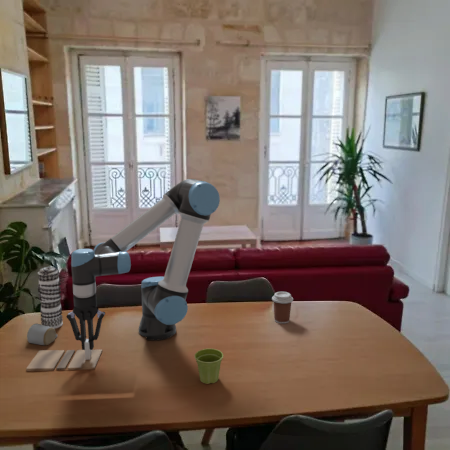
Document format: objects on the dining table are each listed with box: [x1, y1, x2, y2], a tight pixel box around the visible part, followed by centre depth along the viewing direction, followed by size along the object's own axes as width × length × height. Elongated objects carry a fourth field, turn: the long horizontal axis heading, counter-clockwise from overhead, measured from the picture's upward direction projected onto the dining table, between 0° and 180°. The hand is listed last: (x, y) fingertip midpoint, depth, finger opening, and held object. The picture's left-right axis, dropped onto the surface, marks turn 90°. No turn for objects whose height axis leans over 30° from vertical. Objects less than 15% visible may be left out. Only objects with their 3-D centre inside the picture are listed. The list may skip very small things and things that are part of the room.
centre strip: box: [55, 349, 76, 371], centre depth 158 cm, size 3×13×2 cm, turn 4°
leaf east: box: [25, 349, 66, 372], centre depth 158 cm, size 9×13×1 cm
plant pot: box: [194, 348, 224, 385], centre depth 148 cm, size 9×9×9 cm
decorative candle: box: [37, 266, 64, 330], centre depth 188 cm, size 9×9×25 cm
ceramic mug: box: [26, 323, 58, 346], centre depth 174 cm, size 11×8×8 cm
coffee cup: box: [271, 291, 294, 324], centre depth 194 cm, size 9×9×12 cm
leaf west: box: [67, 348, 103, 371], centre depth 159 cm, size 9×13×1 cm
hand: (88, 357), depth 158 cm, fingers closed
